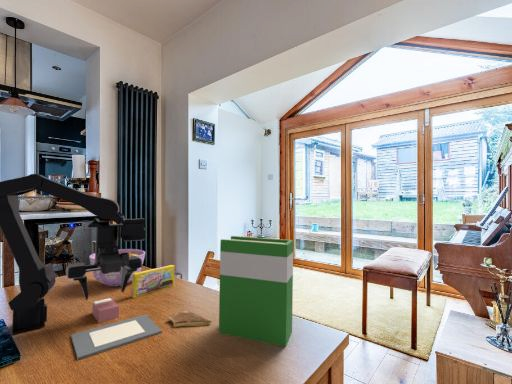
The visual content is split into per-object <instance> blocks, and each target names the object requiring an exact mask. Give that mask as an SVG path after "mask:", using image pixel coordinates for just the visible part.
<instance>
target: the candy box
mask: <svg viewBox="0 0 512 384" xmlns="http://www.w3.org/2000/svg"><path fill="white" fill-rule="evenodd" d="M175 267H176V266H175V265H174V264H170V265H165V266H160V267H156V268H151V269H147V270H143V271H142V270H141V271H140V272H137V273H133V276H132V280H131V282H132V283H131V295H130V297H131V298H132V299H135V298H138V297H142V296H145V295H148V294H152V293H156V292H159V291H162V290H164V289H169V288H171V286H172V287H174V285H175ZM168 287H169V288H168Z"/></svg>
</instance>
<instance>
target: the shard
mask: <svg viewBox="0 0 512 384" xmlns="http://www.w3.org/2000/svg"><path fill="white" fill-rule="evenodd" d="M168 320H169V321H170V322H172V324H173V325H172V326H173V328H177V327H194V326H196V327H197V326H198V327H199V326H200V327H201V326H209V325H211V323H212V321H211V320H209V319H208V318H205V317H203V316H202V315H199V314H197V313H195V312H193V311H192V312H191V311H189V310H186V311H180V312H178V313H176V314H173V315H169V316H168Z"/></svg>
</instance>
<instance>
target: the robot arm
mask: <svg viewBox="0 0 512 384" xmlns="http://www.w3.org/2000/svg"><path fill="white" fill-rule="evenodd" d="M34 191H39V192H42V193H45V194H48V195H49V196H52V197H55V198H57V199H61V200H63V201H66V202H69V203H72V204H74V205H77V206H80V207H82V208H83V209H85V210H86V211H88V212H89V213H90V214H92V215H93V216H96V218H94V219H93V220H92V222H91V223H89V224H88V225H87V228H95V249H94V250H95V251H94V253H95V264H92V265H91V264H87V265H86V264H85V262H83V261H82V262H75V263H69V264H67V265H66V267H65V275H66V277H67V279H72V280H73V281H78V282H79V285H80V287H81V289H82V292H83V295H84V298H85V300H86V301H87V300H89V289H88V288H89V287H88V277H87V275H86V274H87V273H89V272H93V271H97V270H101V272H102V273H103V274H108V273H111V272H120V271H121V267H122V279H121V286H120V291H121V293H124V292H125V289H126V287H127V284H128V283H127V282H128V280H129V278H130V276H131V274H132V273H133V272H134V271H137V269H136V268H141V267H143V264H142V260H141V259H140V258H139V257H137V256H130V257H129V253H128V252H126V253H121V254H119V251H118V250H119V245H118V244H119V237H120V239H122V240H124V242H137V241H139V242H140V241H141V242H142V241H145V239H146V236H145V235H146V228H145V218H143V217H142V218H126V217H125V215H123V214H122V212H120V206H119V203H118V202H117V201H116V200H114V199H110V198H106V197H101V196H97V195H92V194H88V193H86V192H83V191H81V190H77V189H75V188H72V187H70V186H68V185H66V184H63V183H60V182H59V181H58V182H57V181H55V180H53V179H50V178H47V177H45V175H42V174H39V173H38V174H37V173H31V174H28V175H25V176H22V177H16V178H12V179H7V180H3V181H0V229H1V232H2V235H3V237H4V239H5V242H6V244H7V245H8V247H9V249H10V252H11V254H12V256H13V258H14V260H15V263H16V265H17V267H18V285H19V290H20V292H19V293H18V294H17V295H15V296H14V297H13V298H12V299H11V300H9V301H8V302H7V303H8V306H9V308H10V310H11V311H12V324H11V332H10V333H11V335H15V334H16V335H17V334H20V333H24V332H28V331H33V330H37V329H41V328H44V327H45V324H46V322H47V319H48V303H46V302H45V296H46V295H47V294H48V293H49V291H51V290H52V289H53V288H54V286H55V284H56V281H57V280H56V277H58V274H57V273H55V270H54V268H53V267H54V266H53V264H52V263H51V262H49V263H48V264H45V263H43V262H42V261H41V259H40V257H39V254H38V253H37V251H36V248H35V246H34V244H33V242H32V239H31V237H30V235H29V232H28V230H27V228H26V225H25V224H24V220H23V219H22V216H21V214H20V211H19V210H20V199H19V196H23V195H25V194H29V193H31V192H34ZM97 217H98V218H99V219H101V220H99V219H98V218H97ZM110 220H111V221H112V222H114V223H111V221H110ZM119 228H120V232H119ZM119 233H120V234H119ZM119 235H120V236H119ZM99 266H100V267H99ZM141 269H142V268H141Z"/></svg>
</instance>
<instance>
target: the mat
mask: <svg viewBox="0 0 512 384" xmlns="http://www.w3.org/2000/svg"><path fill="white" fill-rule="evenodd" d="M158 334H162V329H161V328H160V327H159V326H158V325H157V324H156V323H155V322H154V321H153V319H151V318H150V317H149V316H148V315H147V314H143V315H139V316H134V317H131V318H128V319H123V320H121V321H116V322H113V323H109V324H106V325H102V326H98V327H94V328H91V329H87V330H83V331H79V332H75V333H72V334H71V335H70V338H71V340H72V345H73V348H74V351H75V356H76V360H77V361H79V360H82V359H84V358H88V357H91V356H93V355H97V354H100V353H102V352H103V353H104V352H106V351H109V350H112V349H116V348H118V347H121V346H125V345H127V344H131V343H134V342H137V341H140V340H143V339H146V338H150V337H153V336H156V335H158Z"/></svg>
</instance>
